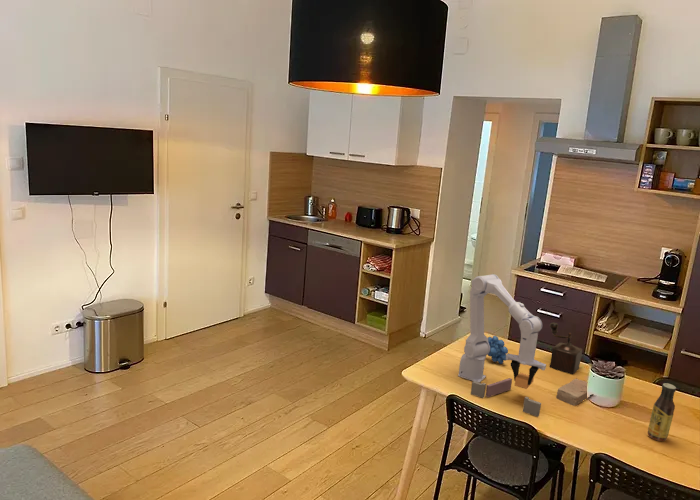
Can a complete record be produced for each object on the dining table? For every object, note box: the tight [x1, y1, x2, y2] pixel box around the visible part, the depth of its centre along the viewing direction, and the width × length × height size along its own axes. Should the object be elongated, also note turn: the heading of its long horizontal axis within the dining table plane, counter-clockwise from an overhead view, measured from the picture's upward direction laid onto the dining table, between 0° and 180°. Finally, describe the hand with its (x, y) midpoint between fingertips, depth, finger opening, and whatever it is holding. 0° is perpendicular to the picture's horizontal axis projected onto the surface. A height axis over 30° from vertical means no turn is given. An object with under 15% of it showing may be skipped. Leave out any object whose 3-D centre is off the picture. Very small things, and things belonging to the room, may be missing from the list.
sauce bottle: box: [647, 382, 677, 442], centre depth 187 cm, size 7×6×20 cm
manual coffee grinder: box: [549, 322, 583, 375], centre depth 243 cm, size 16×11×18 cm
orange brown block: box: [514, 372, 535, 390], centre depth 209 cm, size 4×9×4 cm, turn 146°
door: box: [485, 377, 513, 398], centre depth 214 cm, size 14×2×4 cm, turn 126°
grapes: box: [486, 335, 509, 365], centre depth 242 cm, size 12×7×12 cm, turn 44°
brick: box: [555, 377, 588, 407], centre depth 216 cm, size 17×8×5 cm, turn 132°
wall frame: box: [470, 381, 542, 418], centre depth 205 cm, size 26×2×6 cm, turn 56°
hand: (522, 382), depth 207 cm, fingers closed on orange brown block, 4 cm apart
